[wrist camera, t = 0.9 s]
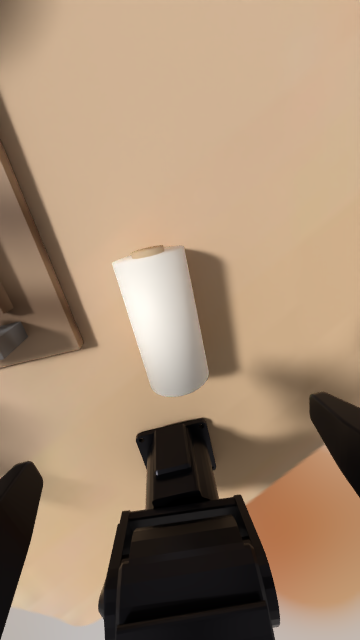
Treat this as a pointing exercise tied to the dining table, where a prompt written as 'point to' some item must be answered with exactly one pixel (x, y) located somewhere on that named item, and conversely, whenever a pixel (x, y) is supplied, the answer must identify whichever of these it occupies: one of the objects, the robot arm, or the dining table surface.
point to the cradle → (28, 284)
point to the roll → (164, 318)
